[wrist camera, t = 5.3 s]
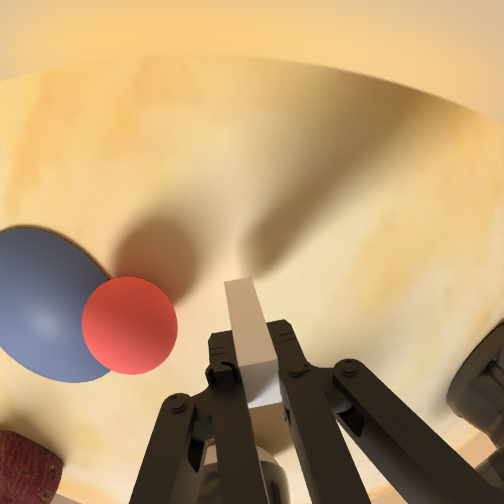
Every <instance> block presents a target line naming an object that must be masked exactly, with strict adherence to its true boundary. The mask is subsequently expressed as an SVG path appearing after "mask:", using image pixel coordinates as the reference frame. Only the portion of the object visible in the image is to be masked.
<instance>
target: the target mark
mask: <svg viewBox="0 0 504 504" xmlns="http://www.w3.org/2000/svg"><path fill="white" fill-rule="evenodd" d="M107 281H109V280H108V279H107V277H106V276H105V275H104V273H103V272H102V271H101V270H100V268H99V267H98V266H97V265H96V264H95V263H94V262H93V261H92V260H91V259H90V258H89V257H88V256H87V255H86V254H84V253H83V252H82V251H81V250H79V249H78V248H77V247H75V246H74V245H73V244H71V243H69V242H68V241H66V240H64V239H62V238H61V237H58V236H56V235H54V234H51V233H49V232H45V231H42V230H38V229H31V228H16V229H11V230H7V231H5V232H2V233H0V347H1V348H2V349H3V350H4V351H5V352H6V353H7V354H8V355H9V356H10V357H12V358H13V359H14V360H15V361H17V362H18V363H19V364H21V365H22V366H24V367H25V368H27V369H29V370H30V371H32V372H34V373H36V374H38V375H41V376H43V377H46V378H49V379H52V380H56V381H61V382H68V383H80V382H88V381H92V380H95V379H98V378H100V377H102V376H104V375H105V374H107V373H108V372H110V371H111V370H110V369H108V368H107V367H105V366H104V365H102V364H101V363H100V362H99V361H98V360H97V359H96V358H95V357H94V356H93V355H92V353H91V352H90V350H89V348H88V347H87V345H86V342H85V340H84V336H83V331H82V315H83V311H84V307H85V305H86V302H87V301H88V299H89V297H90V296H91V294H92V293H93V292H94V291H95V290H96V289H97V288H98V287H99V286H100V285H102V284H103V283H105V282H107Z"/></svg>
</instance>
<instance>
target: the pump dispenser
mask: <svg viewBox="0 0 504 504" xmlns="http://www.w3.org/2000/svg"><path fill="white" fill-rule="evenodd" d="M257 450H258V454H259V459H260V463H261V468H262V472H263V477H264V481H265V486H266V490H267V494H268V499H269V503H270V504H291V501H290V491H289V484H288V479H287V475H286V472H285V470H284V469H283V468H282V467H281V466H279V464H278V463H277V461H276V460H275V458H274V457H273V456H272V455H271V454H270V453H268V452H267V451H266V450H264V449H263V448H261V447H259V446H257ZM196 504H223V502H222V495H221V488H220V480H219V472H218V464H217V455H216V447H215V445H212V446H209V447H208V448H207V453H206V458H205V463H204V468H203V473H202V478H201V483H200V488H199V492H198V497H197V502H196Z"/></svg>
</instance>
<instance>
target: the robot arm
mask: <svg viewBox="0 0 504 504" xmlns="http://www.w3.org/2000/svg"><path fill="white" fill-rule="evenodd" d="M224 285H225V291H226V298H227V304H228V310H229V316H230V321H231V327H232V330H229V331H224V332H218V333H212V334H211V336H210V338H209V340H208V347H209V360H210V365H209V366H208V367H207V369H206V372H205V375H206V378H207V381H208V384H209V386H208V387H207V388H206V389H205V390H204V391H203V392H201V393H199V394H197V395H194V396H192V397H190V396H189V395H188V394H184V393H177V394H173V395H171V396H169V397H168V398H166V399H165V400H164V402H163V404H162V406H161V409H160V412H159V415H158V417H157V420H156V423H155V426H154V429H153V432H152V435H151V438H150V441H149V444H148V447H147V450H146V453H145V456H144V459H143V462H142V465H141V468H140V471H139V474H138V477H137V480H136V483H135V486H134V489H133V492H132V495H131V498H130V502H129V504H196V502H197V497H198V492H199V488H200V483H201V478H202V473H203V468H204V463H205V458H206V453H207V448H208V443H209V439H211V438H213V437H215V447H216V455H217V464H218V472H219V480H220V488H221V495H222V502H223V504H270V503H269V499H268V494H267V490H266V486H265V481H264V477H263V472H262V468H261V463H260V459H259V454H258V450H257V445H256V440H255V436H254V431H253V426H252V422H251V417H250V413H249V408H254V407H259V406H264V405H269V404H274V403H278V402H282V401H283V404H284V414H285V421H287V422H288V426H289V429H290V432H291V436H292V439H293V442H294V446H295V449H296V452H297V456H298V459H299V462H300V465H301V469H302V472H303V475H304V478H305V482H306V485H307V488H308V491H309V495H310V498H311V501H312V504H371V501H370V499H369V497H368V494H367V492H366V490H365V487H364V485H363V482H362V480H361V478H360V475H359V473H358V471H357V468H356V466H355V464H354V461H353V459H352V457H351V454H350V452H349V450H348V447H347V445H346V442H345V440H344V438H343V435H342V433H341V431H340V428H339V426H338V424H337V422H336V420H337V421H338V422H339V424H340V425H341V426H342V427H343V428H344V430H345V431H346V432H347V433H348V435H349V436H350V437H351V438H352V439H353V440H354V442H355V443H356V444H357V445H358V446H359V448H360V449H361V450H362V451H363V452H364V454H365V455H366V456H367V457H368V458H369V459H370V461H371V462H372V463H373V464H374V465H375V466H376V468H377V469H378V470H379V471H380V472H381V473H382V475H383V476H384V477H385V478H386V479H387V480H388V481H389V483H390V484H391V485H392V486H393V487H394V488H395V489H396V490H397V492H398V493H399V494H400V495H401V496H402V497H403V498H404V500H405V501H406V502H407V503H408V504H504V323H503V324H502V325H500V326H499V327H498V328H497V329H495V330H494V331H493V332H492V333H491V334H490V335H489V336H488V337H487V338H486V339H485V340H484V341H483V342H482V343H481V344H480V345H479V346H478V347H477V348H476V349H475V351H474V352H473V353H472V354H471V355H470V357H469V358H468V359H467V361H466V362H465V363H464V365H463V366H462V367H461V369H460V370H459V372H458V373H457V375H456V376H455V378H454V380H453V382H452V384H451V386H450V388H449V390H448V394H447V403H448V405H449V406H450V408H451V409H452V410H453V412H454V413H455V414H456V415H457V416H458V417H460V418H463V419H465V420H466V421H467V422H469V423H470V424H471V425H473V426H474V427H476V428H477V429H479V430H481V431H482V432H484V433H485V434H487V435H488V437H489V438H490V439H491V441H492V442H493V443H494V445H495V446H496V448H497V450H496V451H495V452H494V453H493V454H491V455H490V456H489V457H488V458H486V459H485V460H484V461H483V462H482V463H480V464H479V465H478V466H477V467H475V468H473V467H471V466H470V465H469V464H468V463H467V462H466V461H465V460H464V459H463V458H462V457H461V456H460V455H459V454H458V453H457V452H456V451H454V450H453V449H452V448H451V447H450V446H449V445H448V444H447V443H446V442H445V441H444V440H443V439H442V438H441V437H440V436H439V435H438V434H436V433H435V432H434V431H433V430H432V429H431V428H430V427H429V426H428V425H427V424H426V423H425V422H424V421H423V420H422V419H421V418H420V417H419V416H417V415H416V414H415V413H414V412H413V411H412V410H411V409H410V408H409V407H408V406H407V405H406V404H405V403H404V402H403V401H402V400H401V399H400V398H398V397H397V396H396V395H395V394H394V393H393V392H392V391H391V390H390V389H389V388H388V387H387V386H386V385H385V384H384V383H383V382H382V381H381V380H380V379H378V378H377V377H376V376H375V375H374V374H373V373H372V372H371V371H370V370H369V369H368V368H367V367H366V366H365V365H364V364H363V363H361V362H360V361H358V360H355V359H344V360H341V361H339V362H338V363H336V364H335V366H334V368H319V367H315V366H313V365H311V364H310V363H309V362H307V360H306V358H305V356H304V354H303V351H302V349H301V347H300V344H299V342H298V340H297V338H296V335H295V333H294V330H293V328H292V326H291V324H290V323H288V322H287V321H286V320H284V319H283V320H278V321H273V322H268V323H266V322H265V319H264V315H263V312H262V309H261V306H260V303H259V300H258V297H257V294H256V291H255V288H254V285H253V281H252V278H251V277H249V278H243V279H238V280H232V281H227V282H224Z"/></svg>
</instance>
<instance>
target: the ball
mask: <svg viewBox="0 0 504 504" xmlns="http://www.w3.org/2000/svg"><path fill="white" fill-rule="evenodd" d="M177 330H178V328H177V318H176V314H175V311H174V308H173V306H172V304H171V302H170V300H169V299H168V297H167V296H166V295H165V294H164V292H163V291H161V290H160V289H159V288H158V287H157V286H155V285H154V284H152V283H151V282H149V281H146V280H144V279H141V278H137V277H129V276H128V277H119V278H114V279H111V280H109V281H107V282H105V283H103V284H102V285H100V286H99V287H98V288H97V289H96V290H95V291H94V292H93V293H92V294H91V296H90V297H89V299H88V301H87V302H86V305H85V307H84V311H83V315H82V331H83V336H84V340H85V342H86V345H87V347H88V348H89V350H90V352H91V353H92V355H93V356H94V357H95V358H96V359H97V360H98V361H99V362H100V363H101V364H102V365H104V366H105V367H107V368H108V369H110V370H112V371H115V372H118V373H122V374H130V375H135V374H142V373H146V372H148V371H151V370H153V369H155V368H156V367H158V366H159V365H160V364H162V363H163V362H164V361H165V360H166V358H167V357H168V356H169V355H170V353H171V351H172V349H173V347H174V345H175V341H176V338H177Z"/></svg>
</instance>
